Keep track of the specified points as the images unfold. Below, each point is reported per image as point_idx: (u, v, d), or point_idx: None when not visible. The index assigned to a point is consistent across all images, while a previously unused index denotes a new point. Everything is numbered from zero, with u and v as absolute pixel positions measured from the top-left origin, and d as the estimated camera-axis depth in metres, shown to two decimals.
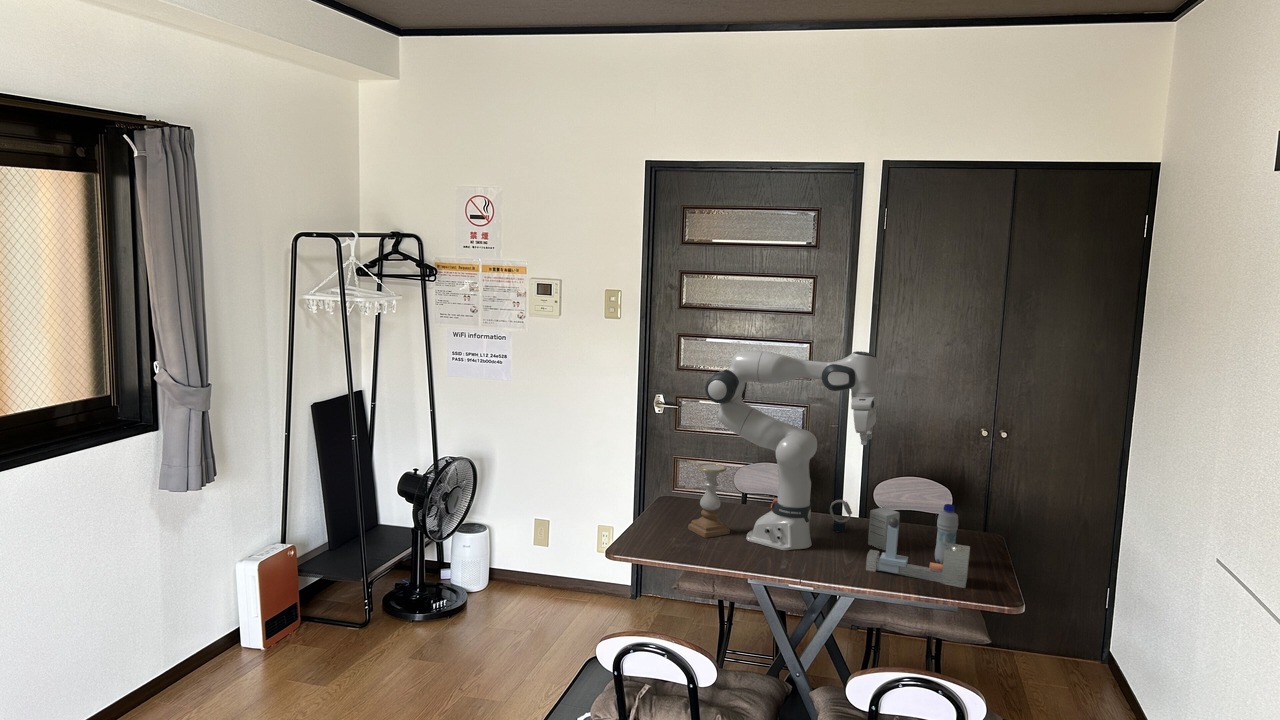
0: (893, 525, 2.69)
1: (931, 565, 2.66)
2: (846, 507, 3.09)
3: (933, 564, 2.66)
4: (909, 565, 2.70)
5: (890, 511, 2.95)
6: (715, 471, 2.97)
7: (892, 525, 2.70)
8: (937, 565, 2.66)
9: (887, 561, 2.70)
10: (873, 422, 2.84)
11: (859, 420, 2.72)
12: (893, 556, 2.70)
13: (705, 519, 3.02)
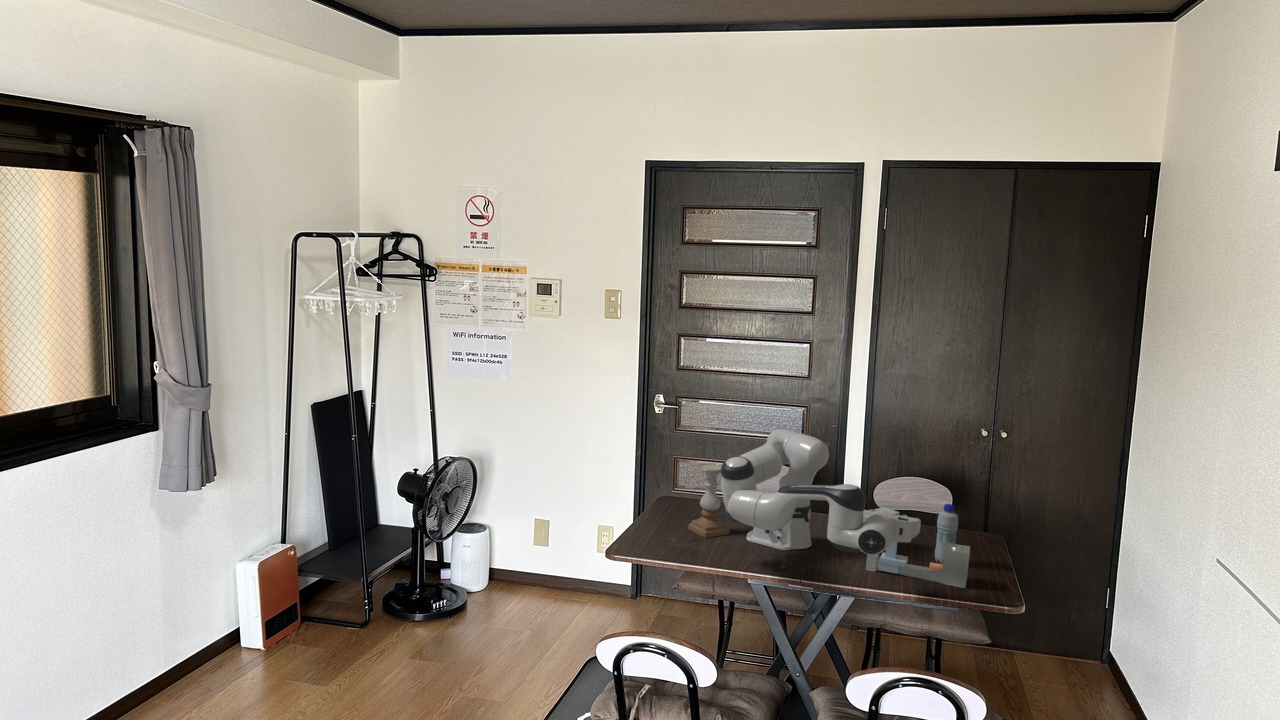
0: None
1: (931, 565, 2.66)
2: None
3: (933, 564, 2.66)
4: (909, 565, 2.70)
5: (890, 511, 2.95)
6: (715, 471, 2.97)
7: None
8: (937, 565, 2.66)
9: (887, 561, 2.70)
10: (873, 511, 2.55)
11: (917, 529, 2.47)
12: (893, 556, 2.70)
13: (705, 519, 3.02)
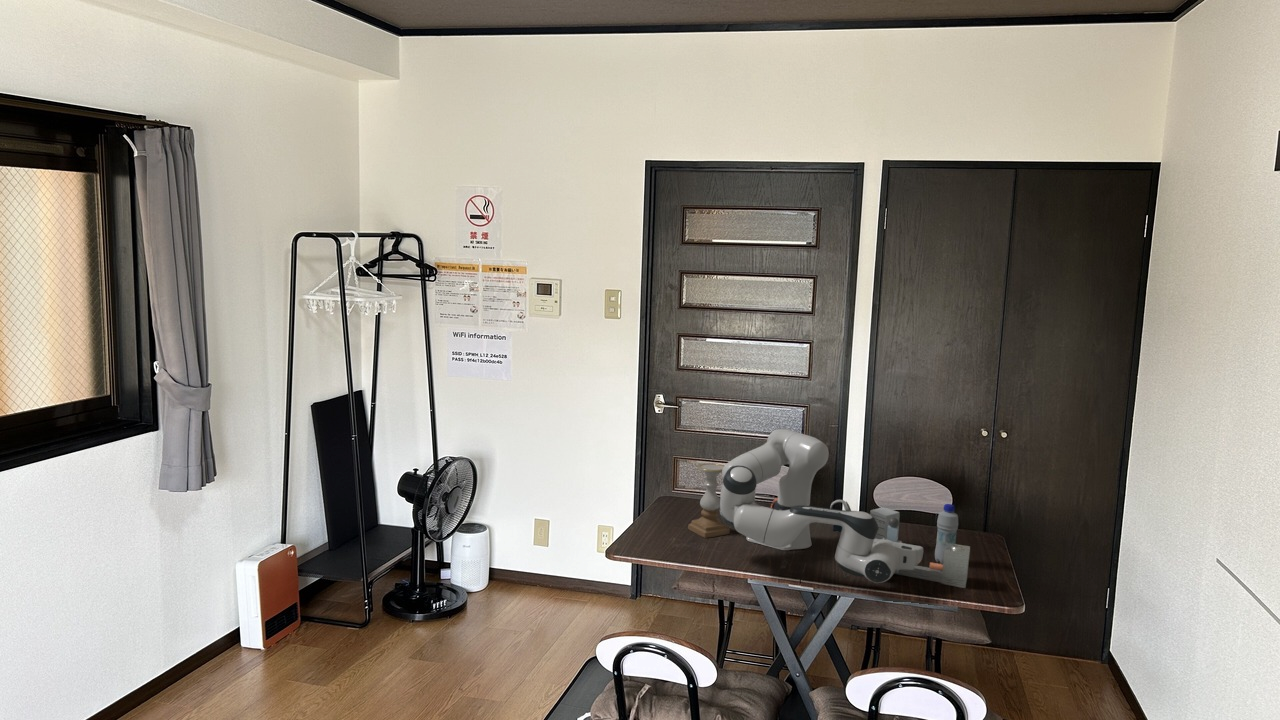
0: (893, 525, 2.69)
1: (931, 565, 2.66)
2: (846, 507, 3.09)
3: (933, 564, 2.66)
4: None
5: (890, 511, 2.95)
6: (715, 471, 2.97)
7: (892, 525, 2.70)
8: (937, 565, 2.66)
9: None
10: (878, 539, 2.68)
11: (920, 557, 2.60)
12: None
13: (705, 519, 3.02)
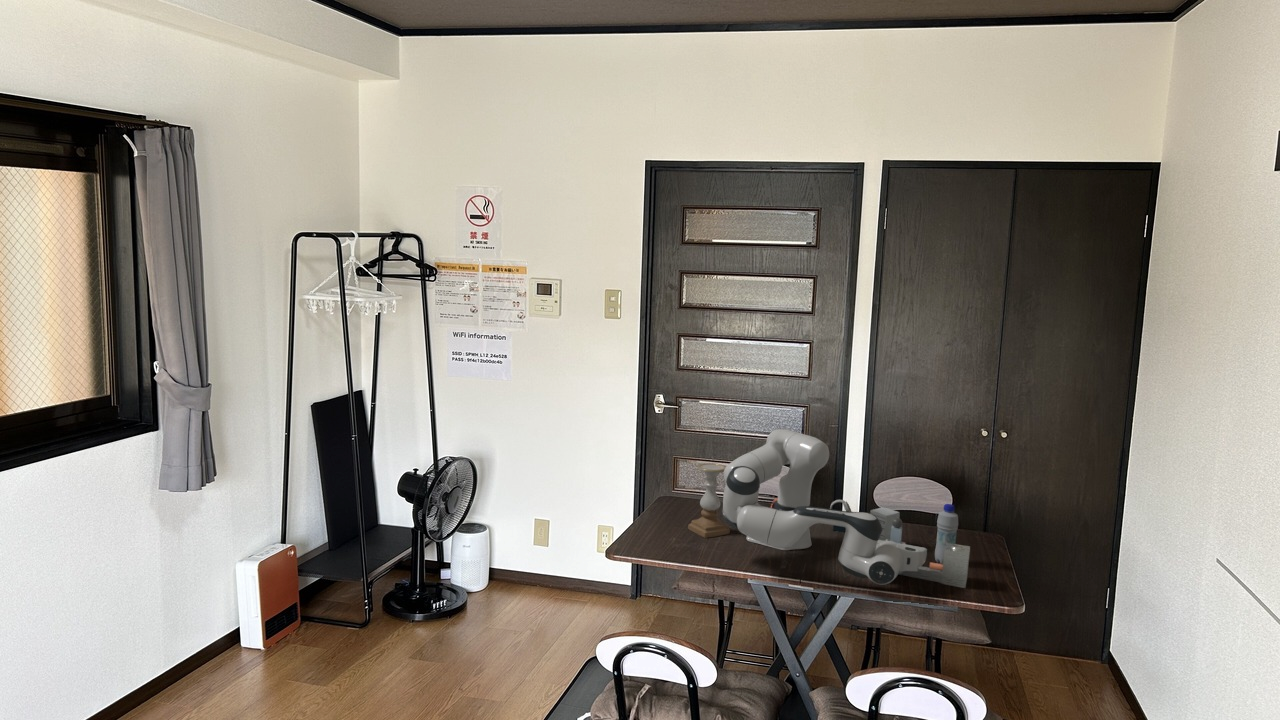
0: (897, 526, 2.69)
1: (931, 565, 2.66)
2: (846, 507, 3.09)
3: (933, 564, 2.66)
4: None
5: (890, 511, 2.95)
6: (715, 471, 2.97)
7: (896, 526, 2.69)
8: (937, 565, 2.66)
9: None
10: (881, 540, 2.68)
11: (924, 559, 2.60)
12: None
13: (705, 519, 3.02)
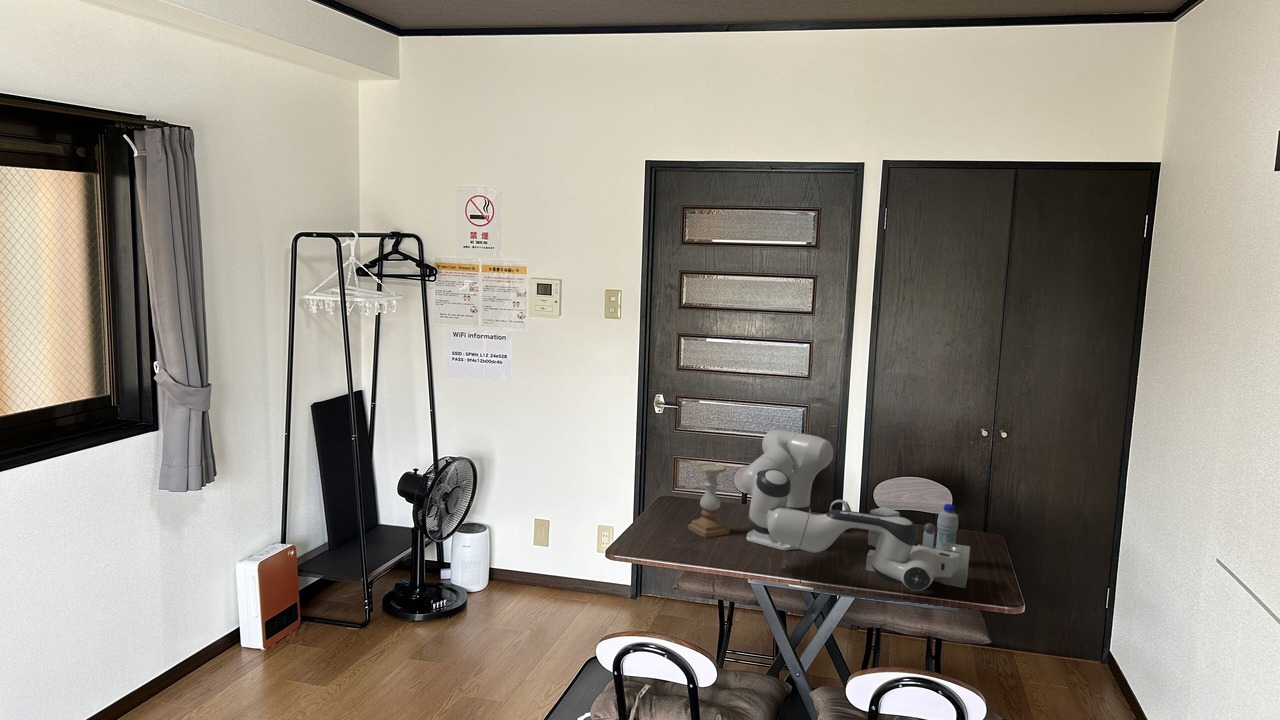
0: (929, 531, 2.65)
1: None
2: (846, 507, 3.09)
3: None
4: None
5: (890, 511, 2.95)
6: (715, 471, 2.97)
7: (928, 531, 2.65)
8: None
9: None
10: (914, 546, 2.64)
11: (958, 564, 2.56)
12: None
13: (705, 519, 3.02)
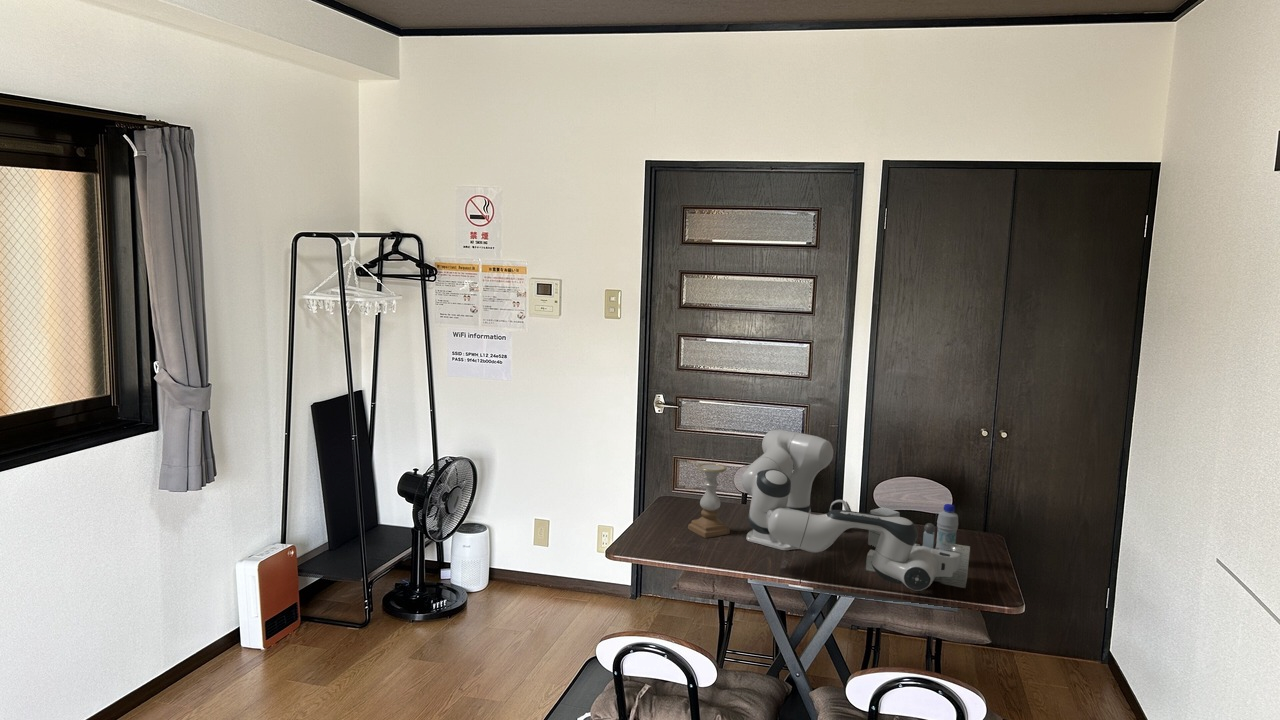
0: (929, 531, 2.65)
1: None
2: (846, 507, 3.09)
3: None
4: None
5: (890, 511, 2.95)
6: (715, 471, 2.97)
7: (928, 531, 2.65)
8: None
9: None
10: (914, 546, 2.64)
11: (958, 564, 2.56)
12: None
13: (705, 519, 3.02)
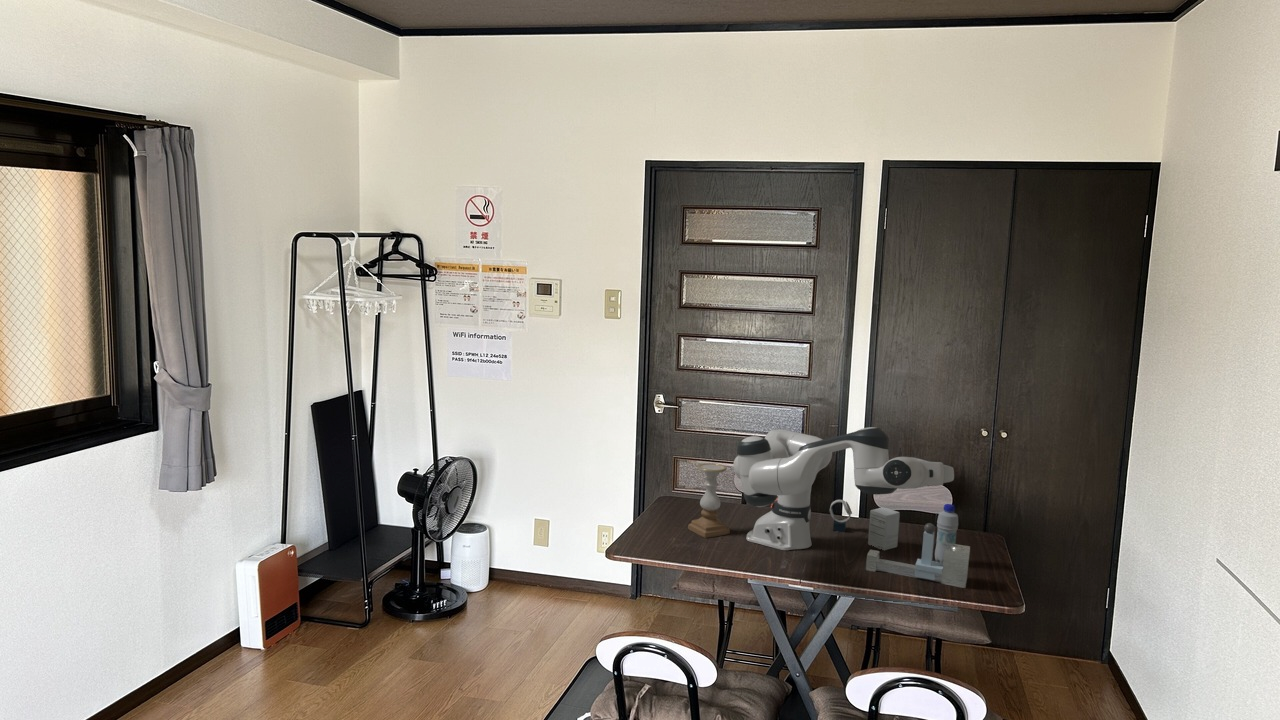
0: (929, 531, 2.65)
1: None
2: (846, 507, 3.09)
3: None
4: (909, 565, 2.70)
5: (890, 511, 2.95)
6: (715, 471, 2.97)
7: (928, 531, 2.65)
8: None
9: (923, 568, 2.65)
10: None
11: (950, 475, 2.39)
12: (929, 562, 2.66)
13: (705, 519, 3.02)
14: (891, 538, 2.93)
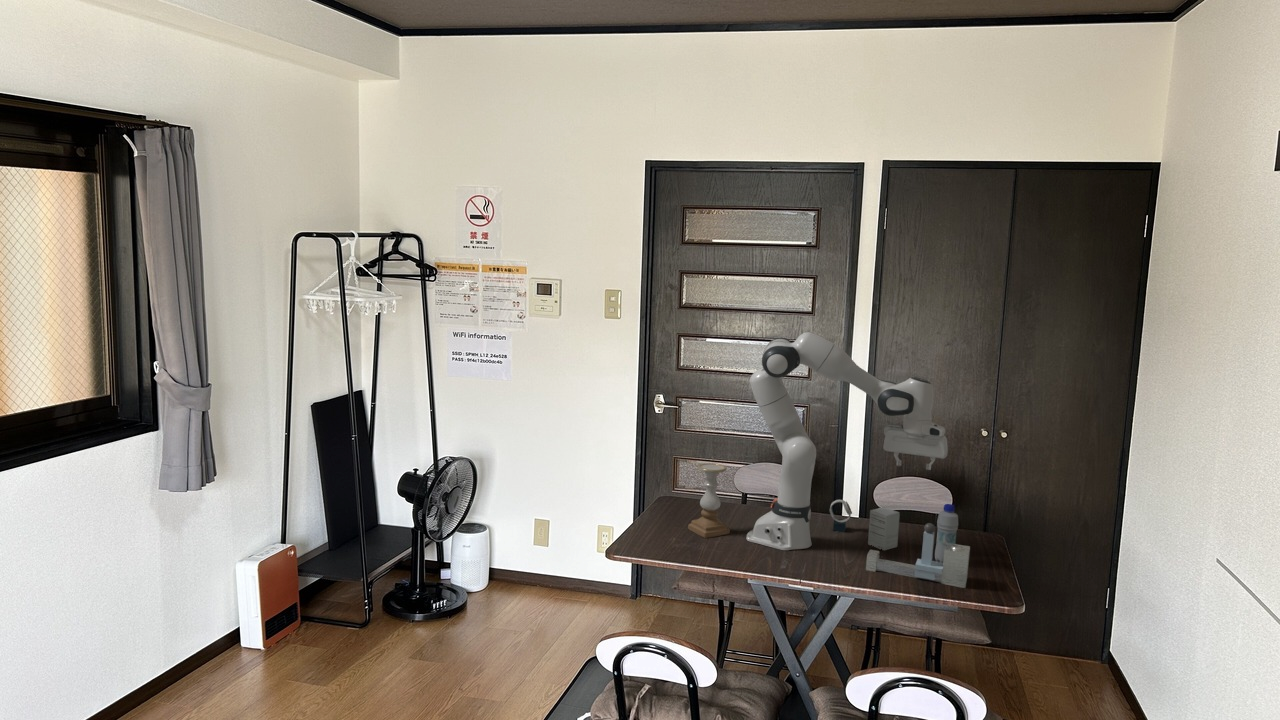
0: (929, 531, 2.65)
1: None
2: (846, 507, 3.09)
3: None
4: (909, 565, 2.70)
5: (890, 511, 2.95)
6: (715, 471, 2.97)
7: (928, 531, 2.65)
8: None
9: (923, 568, 2.65)
10: None
11: (946, 445, 2.77)
12: (929, 562, 2.66)
13: (705, 519, 3.02)
14: (891, 538, 2.93)
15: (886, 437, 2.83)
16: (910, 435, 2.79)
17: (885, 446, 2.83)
